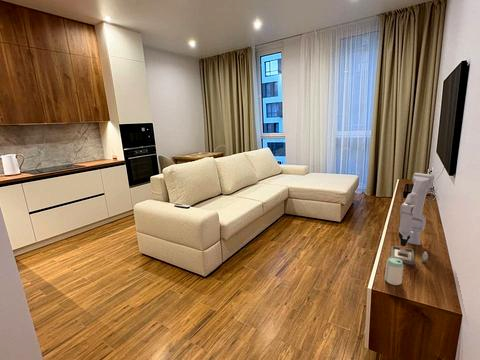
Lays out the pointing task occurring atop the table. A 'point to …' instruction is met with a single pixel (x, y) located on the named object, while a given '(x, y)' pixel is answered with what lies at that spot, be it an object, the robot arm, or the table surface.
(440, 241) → the table surface
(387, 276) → the can
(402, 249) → the square frame with handle
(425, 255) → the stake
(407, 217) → the robot arm
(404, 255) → the tray
